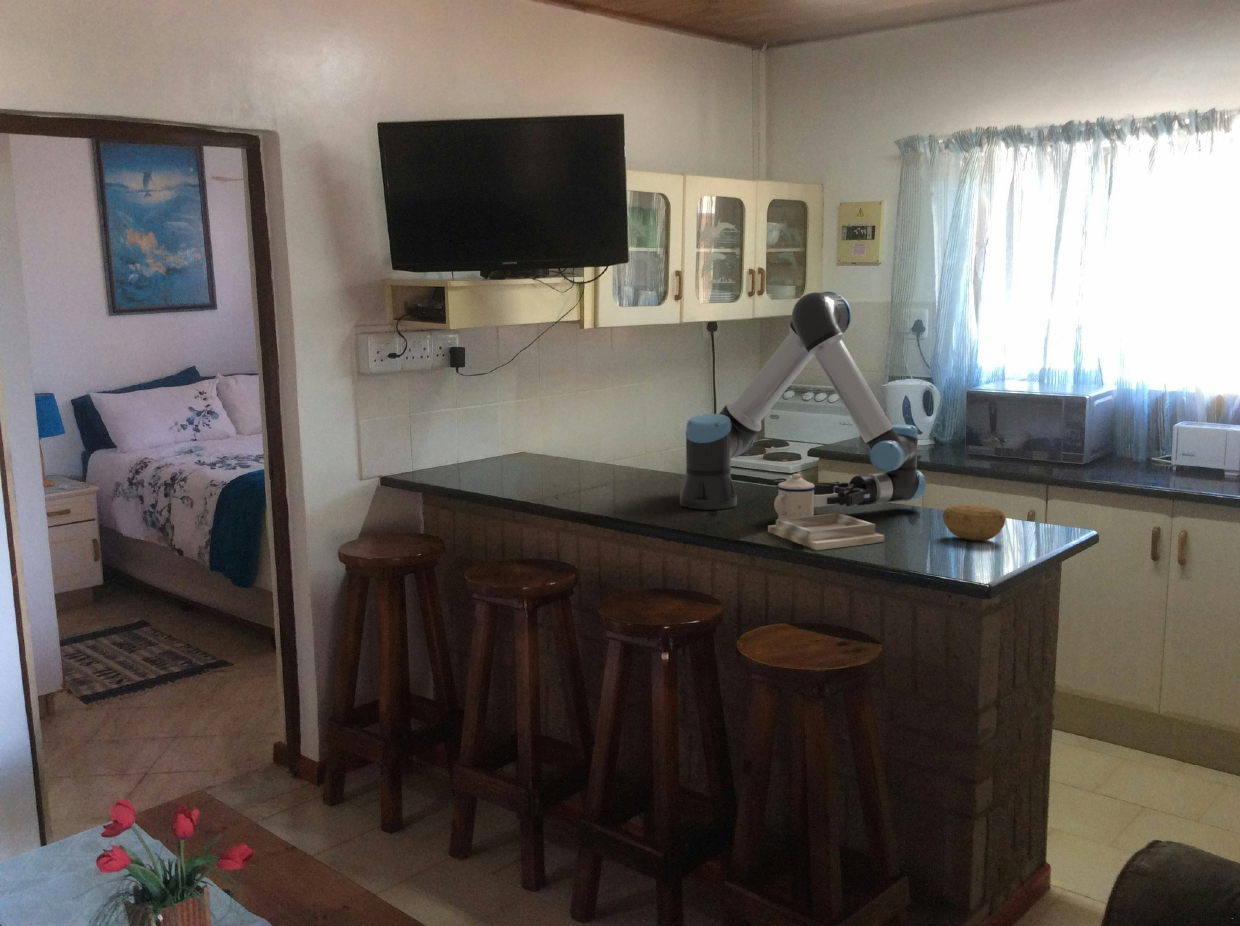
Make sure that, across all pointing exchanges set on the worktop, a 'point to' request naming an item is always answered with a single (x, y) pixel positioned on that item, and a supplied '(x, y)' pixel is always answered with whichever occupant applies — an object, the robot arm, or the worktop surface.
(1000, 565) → the worktop surface
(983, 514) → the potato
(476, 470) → the worktop surface
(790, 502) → the teacup with lid
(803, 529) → the cradle board
